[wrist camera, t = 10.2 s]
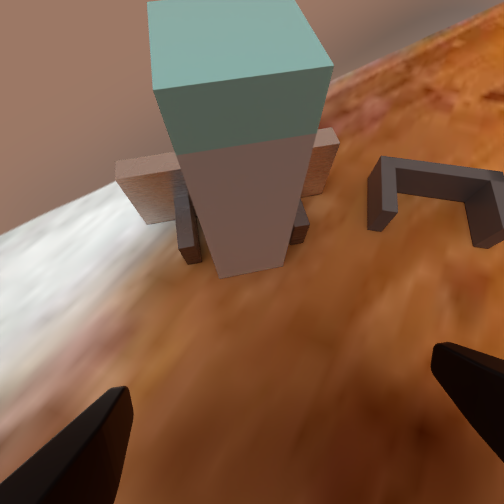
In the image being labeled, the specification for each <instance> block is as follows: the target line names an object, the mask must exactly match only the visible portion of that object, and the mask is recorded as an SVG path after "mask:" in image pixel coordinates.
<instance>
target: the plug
mask: <svg viewBox="0 0 504 504" xmlns="http://www.w3.org/2000/svg"><path fill="white" fill-rule="evenodd" d="M147 9H148V23H149V39H150V52H151V53H150V54H151V68H152V83H153V91H154V94H155V97H156V100H157V103H158V106H159V109H160V111H161V114H162V117H163V120H164V123H165V126H166V128H167V131H168V134H169V137H170V139H171V142H172V145H173V148H174V151H175V154H176V157H177V160H178V162H179V165H180V168H181V171H182V174H183V177H184V179H185V182H186V185H187V188H188V191H189V194H190V196H191V199H192V202H193V205H194V208H195V211H196V213H197V216H198V219H199V222H200V225H201V228H202V230H203V233H204V236H205V239H206V242H207V245H208V247H209V250H210V253H211V256H212V259H213V262H214V264H215V267H216V270H217V273H218V276H219V279H221V278H226V277H231V276H236V275H241V274H246V273H251V272H256V271H261V270H266V269H271V268H276V267H281V266H283V263H284V259H285V255H286V252H287V248H288V244H289V240H290V236H291V232H292V228H293V224H294V220H295V216H296V212H297V209H298V205H299V201H300V197H301V193H302V189H303V185H304V181H305V177H306V173H307V169H308V166H309V162H310V158H311V154H312V150H313V146H314V142H315V138H316V134H317V130H318V126H319V122H320V119H321V115H322V111H323V107H324V103H325V99H326V95H327V91H328V87H329V83H330V79H331V75H332V72H333V67H334V65H333V63H332V61H331V60H330V58H329V56H328V55H327V53H326V51H325V50H324V48H323V46H322V45H321V43H320V41H319V40H318V38H317V36H316V35H315V33H314V31H313V30H312V28H311V27H310V25H309V23H308V22H307V20H306V18H305V17H304V15H303V14H302V12H301V10H300V8H299V7H298V5H297V3H296V2H295V0H162V1H152V2H147Z"/></svg>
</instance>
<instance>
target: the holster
mask: <svg viewBox="0 0 504 504" xmlns="http://www.w3.org/2000/svg"><path fill="white" fill-rule="evenodd" d="M397 192H398V193H405V194H411V195H418V196H425V197H432V198H439V199H446V200H453V201H460V202H465V207H466V212H467V217H468V222H469V227H470V232H471V237H472V242H473V246H474V247H481V248H487V249H488V248H490V247H492V246H494V245H496V244H498V243H499V242H501V241H503V240H504V175H503V172H500V171H492V170H485V169H477V168H470V167H462V166H455V165H447V164H440V163H432V162H425V161H417V160H409V159H402V158H394V157H387V156H381V157H380V158H379V160H378V162H377V164H376V165H375V167H374V169H373V171H372V172H371V174H370V176H369V178H368V230H374V231H380V232H381V231H382V230H383V229H384V228H385V227H386V226H387V225H388V223H389V222H390V221H391V220H392V219H393V218H394V217H395V215H396V214H397V213H398V204H397Z"/></svg>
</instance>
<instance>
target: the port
mask: <svg viewBox="0 0 504 504" xmlns="http://www.w3.org/2000/svg"><path fill="white" fill-rule="evenodd" d="M339 145H340V142H339V140H338V138H337V136H336V134H335V132H334V130H333V128H332V127H331V128H325V129H319V130H317V134H316V138H315V142H314V146H313V150H312V154H311V158H310V162H309V166H308V169H307V173H306V177H305V181H304V185H303V189H302V193H301V197H305V196H311V195H317V194H322V191H323V189H324V186H325V183H326V180H327V178H328V175H329V172H330V169H331V167H332V164H333V161H334V158H335V156H336V153H337V150H338V148H339ZM115 180H116V182H117V183H118V184H119V186H120V187H121V189H122V190H123V192H124V193H125V194H126V196H127V197H128V199H129V200H130V201H131V203H132V204H133V206H134V207H135V209H136V210H137V211H138V213H139V214H140V216H141V217H142V218H143V220H144V221H145V223H146V224H153V223H158V222H164V221H170V220H175V219H176V229H177V240H178V249H179V251H180V252H181V254H182V256H183V258H184V259H185V261H186V263H187V264H188V265H189V264H194V263H199V262H202V260H201V253H200V245H199V238H198V230H197V223H196V216H197V213H196V211H195V208H194V205H193V202H192V199H191V196H190V194H189V191H188V188H187V185H186V182H185V179H184V177H183V174H182V171H181V168H180V165H179V162H178V160H177V157H176V154H175V152H170V153H164V154H157V155H151V156H144V157H139V158H132V159H125V160H119V161H116V164H115ZM309 225H310V223H309V221H308V218H307V215H306V212H305V210H304V207H303V204H302V201H301V198H300V201H299V205H298V209H297V212H296V216H295V220H294V224H293V228H292V232H291V236H290V240H289V243H290V245H293V244H298V243H303V242H304V239H305V236H306V234H307V231H308V228H309Z"/></svg>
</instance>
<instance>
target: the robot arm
mask: <svg viewBox="0 0 504 504" xmlns="http://www.w3.org/2000/svg"><path fill="white" fill-rule="evenodd" d="M431 371H432V373H433V375H434V376H435V378H436V379H437V380H438V382H439V383H440V384H441V386H442V387H443V388H444V390H445V391H446V392H447V394H448V395H449V396H450V398H451V399H452V400H453V402H454V403H455V404H456V406H457V407H458V408H459V410H460V411H461V412H462V414H463V415H464V416H465V418H466V419H467V420H468V422H469V423H470V424H471V425H472V427H473V428H474V429H475V430H476V431H477V433H478V434H479V435H480V436H481V437H482V438H483V440H484V441H485V442H486V443H487V444H488V445H489V446H490V448H491V449H492V450H493V451H494V452H495V453H496V454H497V456H498V457H499V458H500V459H501V460H502V461H503V463H504V360H502V359H499V358H496V357H493V356H490V355H487V354H484V353H481V352H478V351H475V350H472V349H469V348H466V347H463V346H460V345H457V344H454V343H451V342H444V343H437V344H435V346H434V347H433V353H432V360H431ZM133 415H134V413H133V406H132V401H131V397H130V392H129V389H128V387H126V386H120V387H113V388H110V389H109V390H108V391H106V392H105V393H104V394H103V395H102V396H101V397H99V398H98V399H97V400H96V401H95V402H94V403H93V404H91V405H90V406H89V407H88V408H87V409H86V410H85V411H83V412H82V413H81V414H80V415H79V416H78V417H76V418H75V419H74V420H73V421H72V422H71V423H70V424H68V425H67V426H66V427H65V428H64V429H63V430H61V431H60V432H59V433H58V434H57V435H56V436H55V437H53V438H52V439H51V440H50V441H49V442H48V443H46V444H45V445H44V446H43V447H42V448H41V449H40V450H38V451H37V452H36V453H35V454H34V455H33V456H32V457H30V458H29V459H28V460H27V461H26V462H25V463H23V464H22V465H21V466H20V467H19V468H18V469H17V470H15V471H14V472H13V473H12V474H11V475H10V476H8V477H7V478H6V479H5V480H4V481H3V482H2V483H0V504H114V501H115V497H116V494H117V490H118V487H119V482H120V478H121V474H122V469H123V464H124V460H125V455H126V451H127V446H128V441H129V437H130V432H131V427H132V423H133Z"/></svg>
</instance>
